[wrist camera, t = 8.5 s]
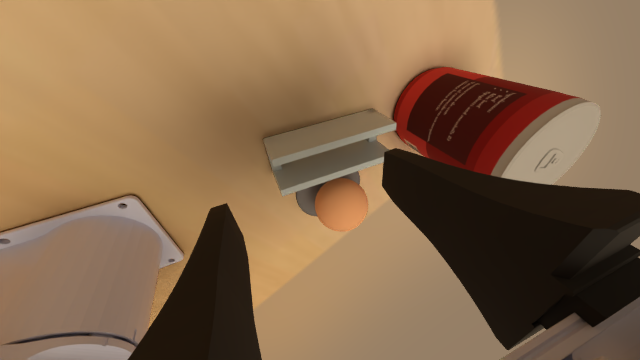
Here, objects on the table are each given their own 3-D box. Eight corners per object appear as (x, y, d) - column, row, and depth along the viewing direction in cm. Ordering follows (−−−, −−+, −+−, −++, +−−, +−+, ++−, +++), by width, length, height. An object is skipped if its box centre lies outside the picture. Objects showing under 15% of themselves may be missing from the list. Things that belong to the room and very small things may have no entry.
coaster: (302, 222, 26) (303, 224, 25) (290, 172, 21) (290, 173, 21) (358, 202, 27) (360, 203, 27) (358, 150, 23) (359, 152, 23)
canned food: (447, 133, 26) (557, 190, 18) (386, 151, 24) (478, 223, 16) (468, 58, 22) (630, 88, 13) (395, 72, 20) (531, 118, 11)
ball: (311, 215, 25) (331, 250, 21) (303, 178, 22) (325, 213, 18) (352, 198, 26) (378, 229, 22) (350, 161, 23) (379, 190, 19)
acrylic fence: (272, 172, 21) (282, 196, 18) (262, 138, 19) (271, 159, 16) (371, 142, 23) (392, 159, 20) (372, 108, 21) (396, 122, 18)
